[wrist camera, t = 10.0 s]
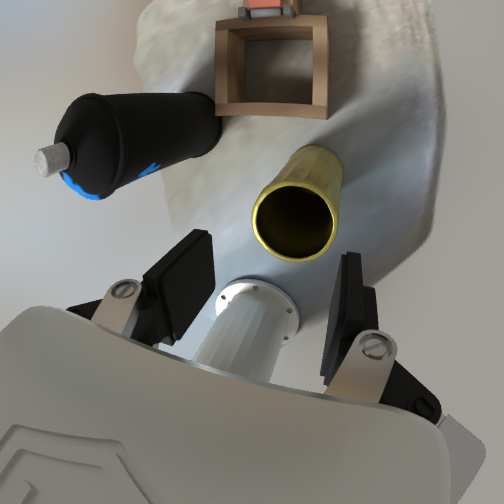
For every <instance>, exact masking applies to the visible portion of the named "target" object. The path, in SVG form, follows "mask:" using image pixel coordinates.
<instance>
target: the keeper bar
mask: <svg viewBox="0 0 504 504" xmlns="http://www.w3.org/2000/svg"><path fill="white" fill-rule="evenodd" d="M249 1H250V8H251V17H252V18H258V17H276V16H282V10H281V9H283V8H282V0H249Z"/></svg>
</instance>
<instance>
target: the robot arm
mask: <svg viewBox="0 0 504 504" xmlns="http://www.w3.org/2000/svg"><path fill="white" fill-rule="evenodd" d="M214 290H215V272H214V259H213V246H212V236H211V234H209V233H208V231H207V230H200V229H194V230H193V231H191V232H190V233H189V234H188V235H187V236H186V237H185V238H183V239H182V240H181V241H180V242H179V243H178V244H177V245H176V246H174V247H173V248H172V249H171V250H170V251H169V252H168V253H167V254H166V255H165V256H163V257H162V258H161V259H160V260H159V261H158V262H157V263H156V264H155V265H154V266H152V267H151V268H150V269H149V270H148V271H147V272H146V273H145V274H144V275H143V281H142V282H141V283H140V282H138V281H137V280H133V279H125V280H121V281H118V282H116V283H115V284H113V285H112V286H111V287H110V288H109V290H108V291H107V293H106V295H105V296H104V298H103V299H100V300H96V301H92V302H88V303H85V304H80V305H76V306H73V307H69V308H67V309H66V310H63V309H60V308H56V307H51V306H35V307H30V308H28V309H26V310H25V311H23V312H22V313H21V314H20V315H18V316H17V317H16V318H15V319H14V320H13V321H11V322H10V323H9V324H8V325H7V326H6V327H5V328H4V329H3V330H2V331H1V332H0V504H457V503H458V501H459V500H460V498H461V497H462V496H463V494H464V493H465V491H466V490H467V488H468V487H469V485H470V484H471V482H472V481H473V479H474V477H475V476H476V474H477V472H478V471H479V469H480V467H481V466H482V464H483V462H484V459H485V455H486V450H485V447H484V444H483V443H482V442H481V440H479V439H478V438H477V437H476V436H474V435H473V434H472V433H471V432H470V431H468V430H467V429H466V428H464V426H462V425H461V424H460V423H459V422H457V421H456V420H455V419H454V418H453V417H451V416H450V415H449V414H448V415H447V416H444V415H443V414H442V410H441V405H440V402H439V400H438V399H437V398H436V397H435V395H433V394H432V393H431V392H430V391H429V390H428V389H427V388H426V387H425V386H424V385H423V384H421V383H420V382H419V381H418V380H417V379H416V378H415V377H414V376H413V375H411V374H410V373H409V372H408V371H407V370H406V369H405V368H404V367H403V366H402V365H400V364H399V363H398V362H397V361H396V360H395V357H396V354H397V346H396V343H395V341H394V340H393V339H392V338H391V337H390V336H389V335H388V334H386V333H384V332H382V331H379V327H378V314H377V303H376V293H375V288H373V287H366V286H363V279H362V265H361V254H360V253H354V252H348V251H347V254H346V255H344V254H342V255H341V260H340V265H339V270H338V275H337V279H336V284H335V289H334V293H333V298H332V302H331V306H330V311H329V319H328V326H327V334H326V341H325V347H324V353H323V359H322V365H321V371H320V376H325V379H324V385H327V387H328V388H327V389H326V391H325V392H324V394H320V393H315V392H309V391H305V390H299V389H294V388H289V387H285V386H280V385H275V384H271V383H269V381H270V378H271V375H272V372H273V369H274V366H275V363H276V360H277V357H278V354H279V351H280V348H281V345H283V344H285V343H287V342H289V341H290V340H291V339H292V338H293V337H294V336H295V334H296V333H297V330H298V326H299V321H300V318H299V312H298V309H297V306H296V305H295V303H294V302H293V300H292V299H291V298H290V297H289V296H288V294H286V293H285V292H284V291H283V290H281V289H280V288H278V287H276V286H274V285H273V284H270V283H268V282H265V281H261V280H256V279H241V280H237V281H233V282H231V283H229V284H228V285H226V286H225V287H224V288H223V289H222V290H221V292H220V293H219V295H218V297H217V299H216V304H215V309H216V314H217V319H216V320H215V322H214V324H213V325H212V327H211V329H210V330H209V332H208V334H207V335H206V337H205V338H204V340H203V342H202V344H201V345H200V347H199V349H198V350H197V352H196V353H195V355H194V357H193V358H192V360H191V361H190V360H186V359H184V358H181V357H178V356H175V355H172V354H169V353H167V352H164V351H161V350H159V349H158V347H159V343H160V342H162V343H164V344H167V345H170V346H173V345H174V343H175V341H176V340H180V339H181V338H182V336H183V335H184V333H185V332H186V331H187V329H188V328H189V326H190V325H191V323H192V322H193V321H194V319H195V318H196V316H197V315H198V313H199V312H200V310H201V309H202V308H203V306H204V305H205V303H206V302H207V300H208V299H209V297H210V296H211V295H212V293H213V292H214Z"/></svg>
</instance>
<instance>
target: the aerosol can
mask: <svg viewBox="0 0 504 504" xmlns="http://www.w3.org/2000/svg"><path fill="white" fill-rule="evenodd" d="M221 131H222V117H221V116H215V102H214V101H213V100H212V99H211V98H210V97H208V96H206V95H205V94H203V93H199V92H185V93H132V94H115V95H100V94H95V93H89V94H85V95H82V96H80V97H78V98H77V99H76V100H74V101H73V102H72V103H71V105H70V106H69V107H68V109H67V111H66V112H65V114H64V116H63V118H62V120H61V121H60V123H59V125H58V128H57V131H56V134H55V139H54V145H51V146H48V147H45V148H42V149H39V150H38V151H37V152H36V155H35V168H36V171H37V173H38V175H39V176H40V177H41V178H46V177H49V176H51V175H53V174H55V173H57V172H59V173H60V175H61V177H62V179H63V180H64V181H65V183H66V184H67V185H68V186H69V187H71V188H72V189H73V190H75V191H76V192H78V193H79V194H80V195H81V196H83V197H85V198H87V199H90V200H101V199H105V198H106V197H108V196H110V195H111V194H112V193H113V192H114V191H115V190H116V189H118V188H120V187H122V186H124V185H126V184H128V183H131V182H133V181H135V180H137V179H139V178H142V177H144V176H146V175H149V174H151V173H153V172H156V171H158V170H161V169H163V168H166V167H168V166H171V165H173V164H176V163H178V162H181V161H184V160H186V159H189V158H197V157H201V156H203V155H205V154H207V153H208V152H209V151H211V150H212V149H213V147H214V146H215V145H216V144H217V142H218V140H219V138H220V135H221Z"/></svg>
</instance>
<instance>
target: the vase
mask: <svg viewBox="0 0 504 504" xmlns="http://www.w3.org/2000/svg"><path fill="white" fill-rule="evenodd" d="M342 182H343V167H342V164H341V162H340V160H339V159H338V157H337V156H336V155H335V154H334V153H333V152H331V151H330V150H328V149H326V148H324V147H322V146H314V145H310V146H306V147H303V148H301V149H299V150H297V151H296V152H295V153H294V154H293V155H292V156H291V158H290V160H289V161H288V162H287V164H286V165H285V166H284V168H283V169H282V170H281V171H280V173H279V174H278V175H277V177H276V178H275V179H274V180H273V181H272V182H271V183H270V184H269V185H268V186H266V187H265V188H264V189H263V190H262V192H261V193H260V195H259V196H258V198H257V200H256V202H255V205H254V207H253V210H252V218H251V219H252V228H253V232H254V234H255V236H256V238H257V240H258V241H259V242H260V244H261V245H262V246H263V247H264V248H265V249H266V250H267V251H268V252H269V253H271V254H272V255H274V256H276V257H277V258H279V259H282V260H284V261H288V262H297V263H298V262H306V261H310V260H314V259H316V258H318V257H320V256H321V255H322V254H324V253H325V252H326V251H327V250H328V249H329V247H330V245H331V244H332V242H333V241H334V239H335V237H336V235H337V227H338V219H339V207H340V206H339V201H340V192H341V184H342Z"/></svg>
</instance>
